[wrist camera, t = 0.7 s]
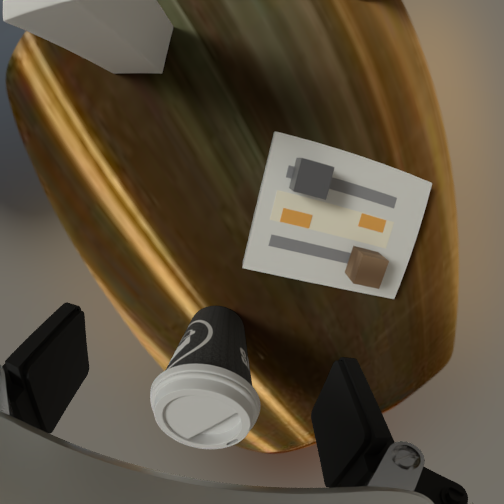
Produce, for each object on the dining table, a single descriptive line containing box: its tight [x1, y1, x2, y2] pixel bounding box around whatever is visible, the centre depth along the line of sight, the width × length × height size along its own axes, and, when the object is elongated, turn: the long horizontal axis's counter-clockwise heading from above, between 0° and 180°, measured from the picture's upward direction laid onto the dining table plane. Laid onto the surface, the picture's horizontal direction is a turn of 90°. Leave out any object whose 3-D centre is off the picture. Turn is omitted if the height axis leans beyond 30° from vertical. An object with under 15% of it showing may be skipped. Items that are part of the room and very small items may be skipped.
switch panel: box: [243, 131, 432, 299], centre depth 31 cm, size 14×18×2 cm
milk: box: [3, 0, 173, 74], centre depth 16 cm, size 6×6×22 cm
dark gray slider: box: [289, 158, 334, 200], centre depth 27 cm, size 3×3×3 cm
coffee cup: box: [150, 306, 260, 449], centre depth 29 cm, size 10×10×15 cm
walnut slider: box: [345, 246, 389, 289], centre depth 30 cm, size 3×3×3 cm
